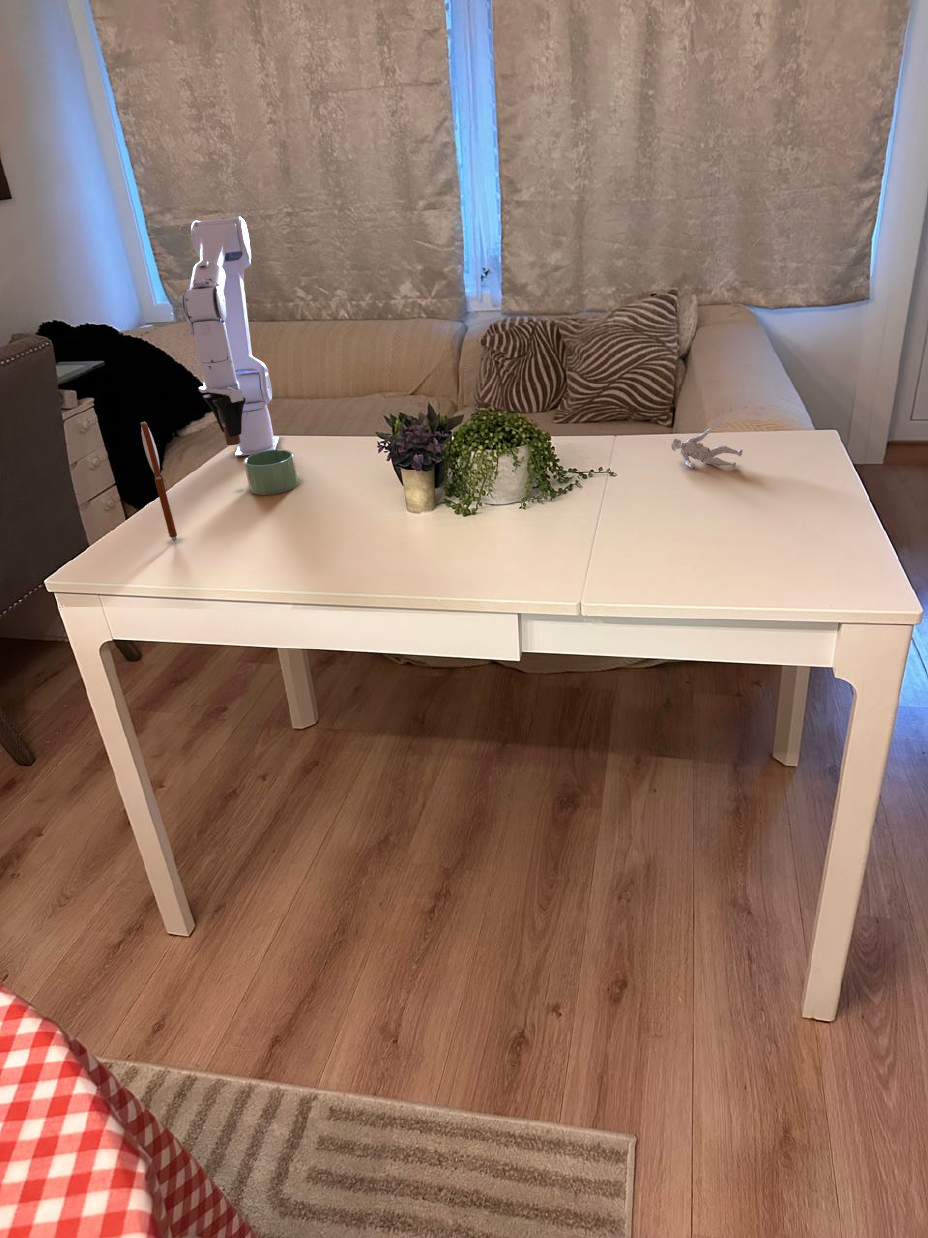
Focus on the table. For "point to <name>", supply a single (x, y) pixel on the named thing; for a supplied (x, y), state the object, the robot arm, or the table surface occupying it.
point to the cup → (271, 472)
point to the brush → (229, 440)
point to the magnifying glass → (158, 478)
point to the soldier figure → (703, 451)
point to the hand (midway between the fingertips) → (231, 433)
